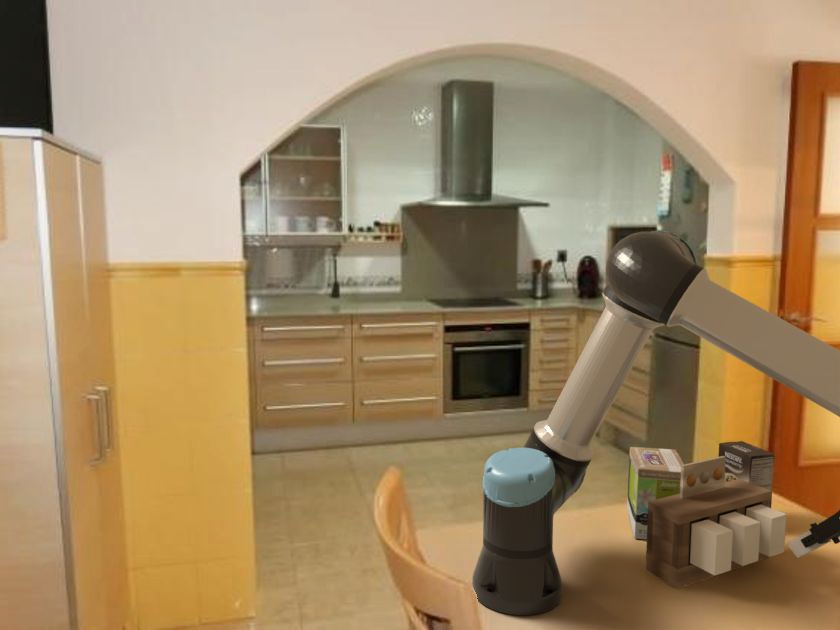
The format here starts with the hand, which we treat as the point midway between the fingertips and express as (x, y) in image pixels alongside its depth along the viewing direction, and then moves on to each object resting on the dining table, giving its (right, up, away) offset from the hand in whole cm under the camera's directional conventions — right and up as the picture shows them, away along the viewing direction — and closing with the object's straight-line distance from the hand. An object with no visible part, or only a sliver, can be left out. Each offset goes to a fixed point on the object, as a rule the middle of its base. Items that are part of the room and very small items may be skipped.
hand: (794, 549), depth 115 cm
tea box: (-16, -4, +24) cm, 29 cm away
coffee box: (+3, -3, +26) cm, 27 cm away
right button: (-3, -2, +5) cm, 6 cm away
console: (-12, -5, +8) cm, 15 cm away
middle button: (-9, -2, +2) cm, 9 cm away
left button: (-15, -2, -1) cm, 15 cm away
